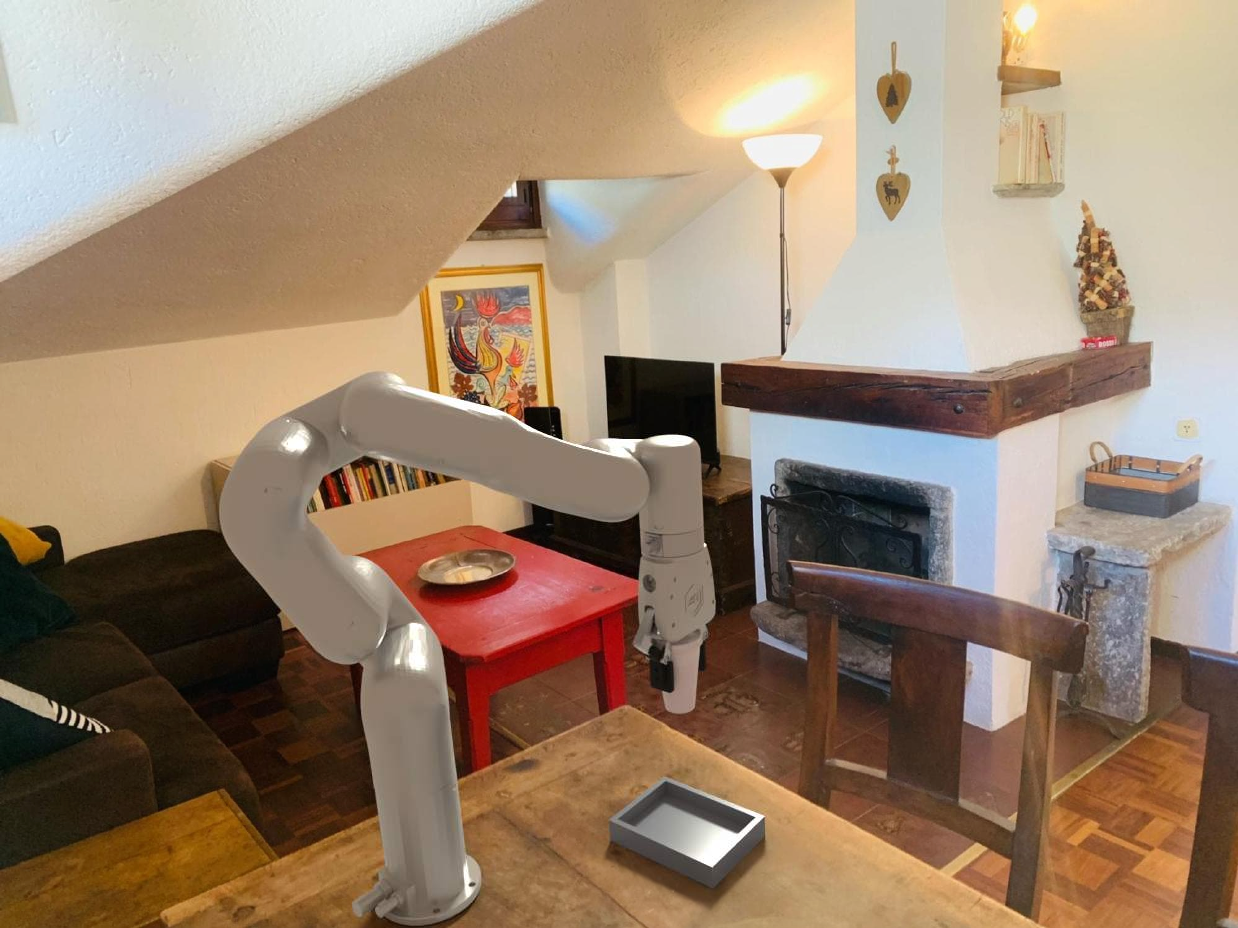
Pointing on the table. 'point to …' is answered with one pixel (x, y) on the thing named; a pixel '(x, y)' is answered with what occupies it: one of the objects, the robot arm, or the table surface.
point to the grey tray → (688, 830)
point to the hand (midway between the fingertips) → (678, 677)
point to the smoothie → (683, 672)
